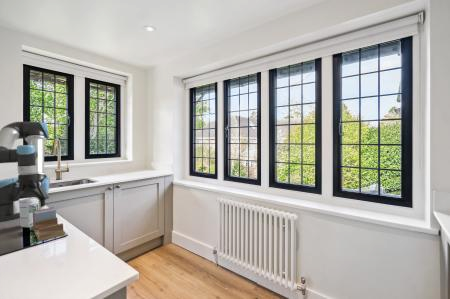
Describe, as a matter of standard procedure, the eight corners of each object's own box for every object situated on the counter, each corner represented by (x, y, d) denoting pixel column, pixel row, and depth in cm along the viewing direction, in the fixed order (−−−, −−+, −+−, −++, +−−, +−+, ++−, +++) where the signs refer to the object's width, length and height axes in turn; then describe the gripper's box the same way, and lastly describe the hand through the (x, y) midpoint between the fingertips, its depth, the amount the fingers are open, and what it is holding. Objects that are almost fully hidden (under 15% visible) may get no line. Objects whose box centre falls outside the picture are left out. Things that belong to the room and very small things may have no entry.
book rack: (32, 229, 121) (31, 211, 121) (55, 224, 128) (54, 207, 128) (38, 241, 105) (37, 220, 105) (65, 235, 113) (64, 215, 112)
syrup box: (28, 227, 124) (27, 200, 123) (20, 226, 125) (18, 200, 124) (39, 223, 129) (38, 197, 129) (30, 223, 130) (29, 197, 130)
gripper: (-3, 175, 122) (-1, 215, 123) (44, 174, 122) (46, 214, 123) (10, 173, 130) (12, 211, 130) (55, 172, 130) (57, 210, 130)
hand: (29, 212), depth 127 cm, fingers open, 13 cm apart
